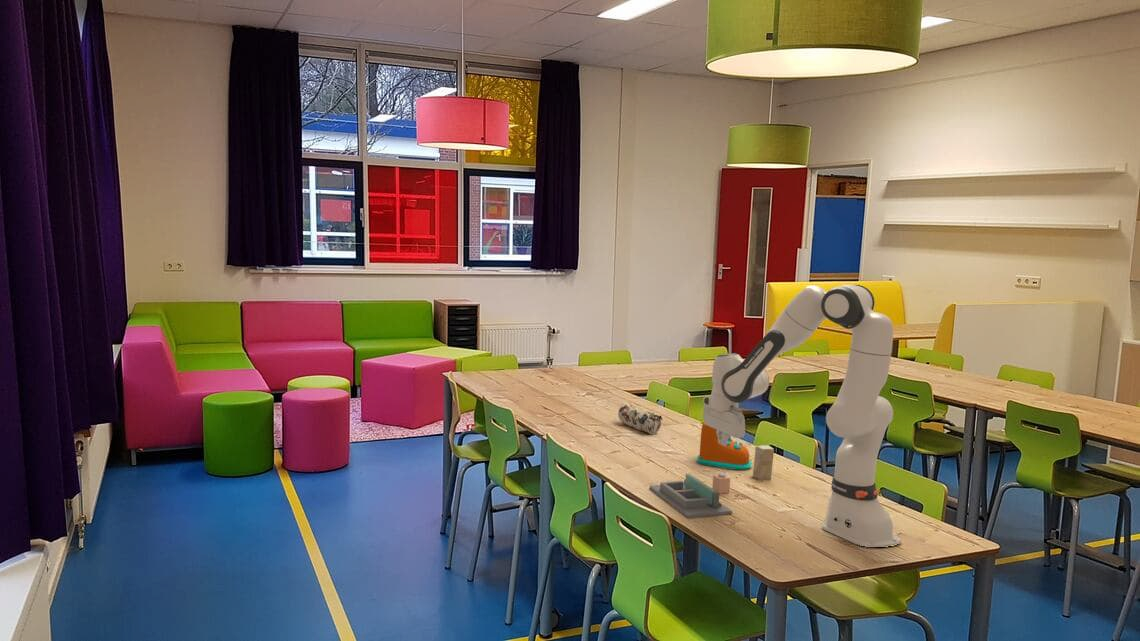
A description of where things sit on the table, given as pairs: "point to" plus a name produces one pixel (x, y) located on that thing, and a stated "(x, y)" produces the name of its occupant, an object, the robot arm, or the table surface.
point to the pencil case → (639, 419)
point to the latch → (699, 488)
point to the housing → (689, 500)
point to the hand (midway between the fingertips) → (722, 444)
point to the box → (763, 462)
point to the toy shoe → (722, 451)
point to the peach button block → (721, 483)
